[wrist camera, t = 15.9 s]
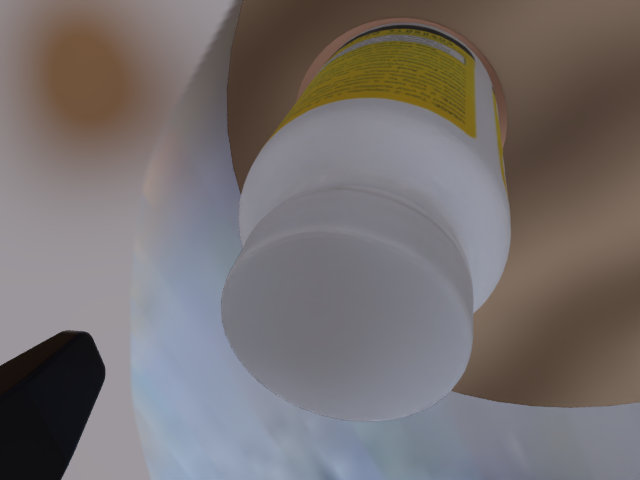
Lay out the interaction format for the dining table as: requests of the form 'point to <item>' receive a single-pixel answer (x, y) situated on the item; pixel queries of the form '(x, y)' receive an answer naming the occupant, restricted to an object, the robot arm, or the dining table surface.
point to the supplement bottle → (372, 229)
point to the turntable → (508, 172)
